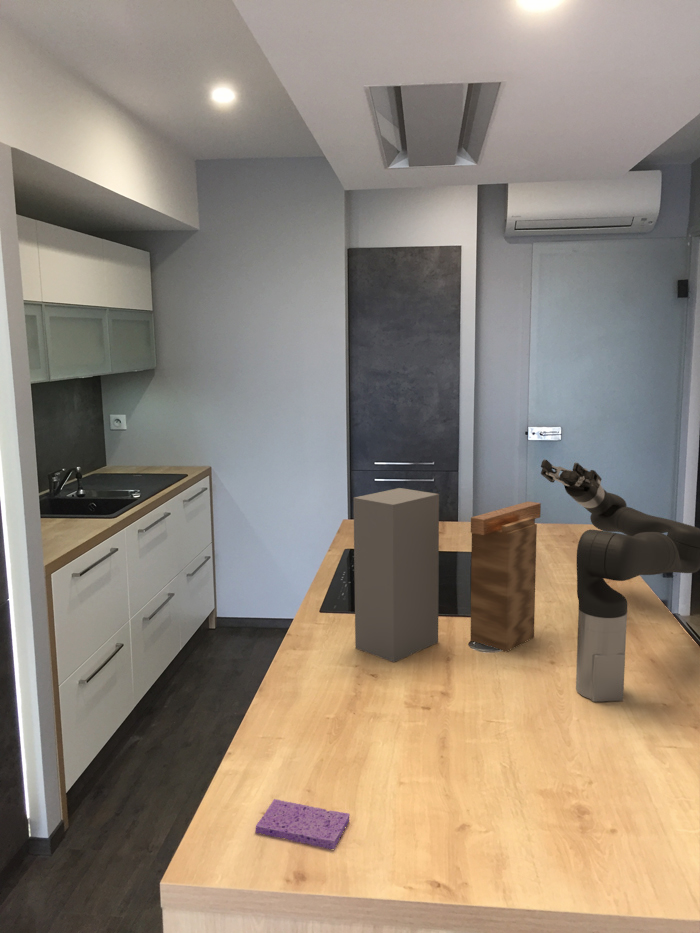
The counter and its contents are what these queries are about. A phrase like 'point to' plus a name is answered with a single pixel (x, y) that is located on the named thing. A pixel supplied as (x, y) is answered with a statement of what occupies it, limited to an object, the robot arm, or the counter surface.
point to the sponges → (303, 824)
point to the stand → (396, 572)
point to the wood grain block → (504, 585)
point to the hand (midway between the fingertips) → (558, 464)
